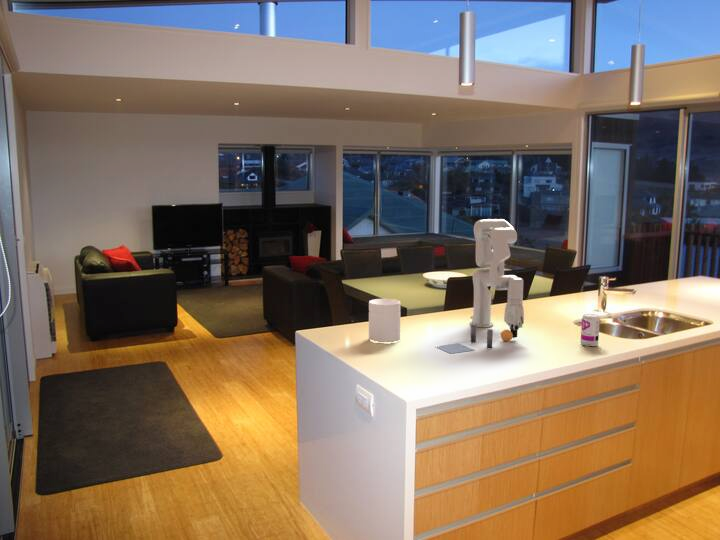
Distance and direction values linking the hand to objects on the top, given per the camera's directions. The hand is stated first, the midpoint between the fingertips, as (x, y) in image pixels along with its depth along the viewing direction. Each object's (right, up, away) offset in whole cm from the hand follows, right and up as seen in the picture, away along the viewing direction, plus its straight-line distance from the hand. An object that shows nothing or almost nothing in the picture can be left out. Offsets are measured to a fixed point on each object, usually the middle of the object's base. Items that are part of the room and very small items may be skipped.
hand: (513, 337), depth 321 cm
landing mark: (-33, -4, -15) cm, 36 cm away
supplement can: (+35, -3, -9) cm, 37 cm away
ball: (-4, +1, -2) cm, 5 cm away
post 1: (-21, -2, -3) cm, 21 cm away
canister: (-66, -2, 0) cm, 66 cm away
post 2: (-15, -4, -14) cm, 21 cm away
